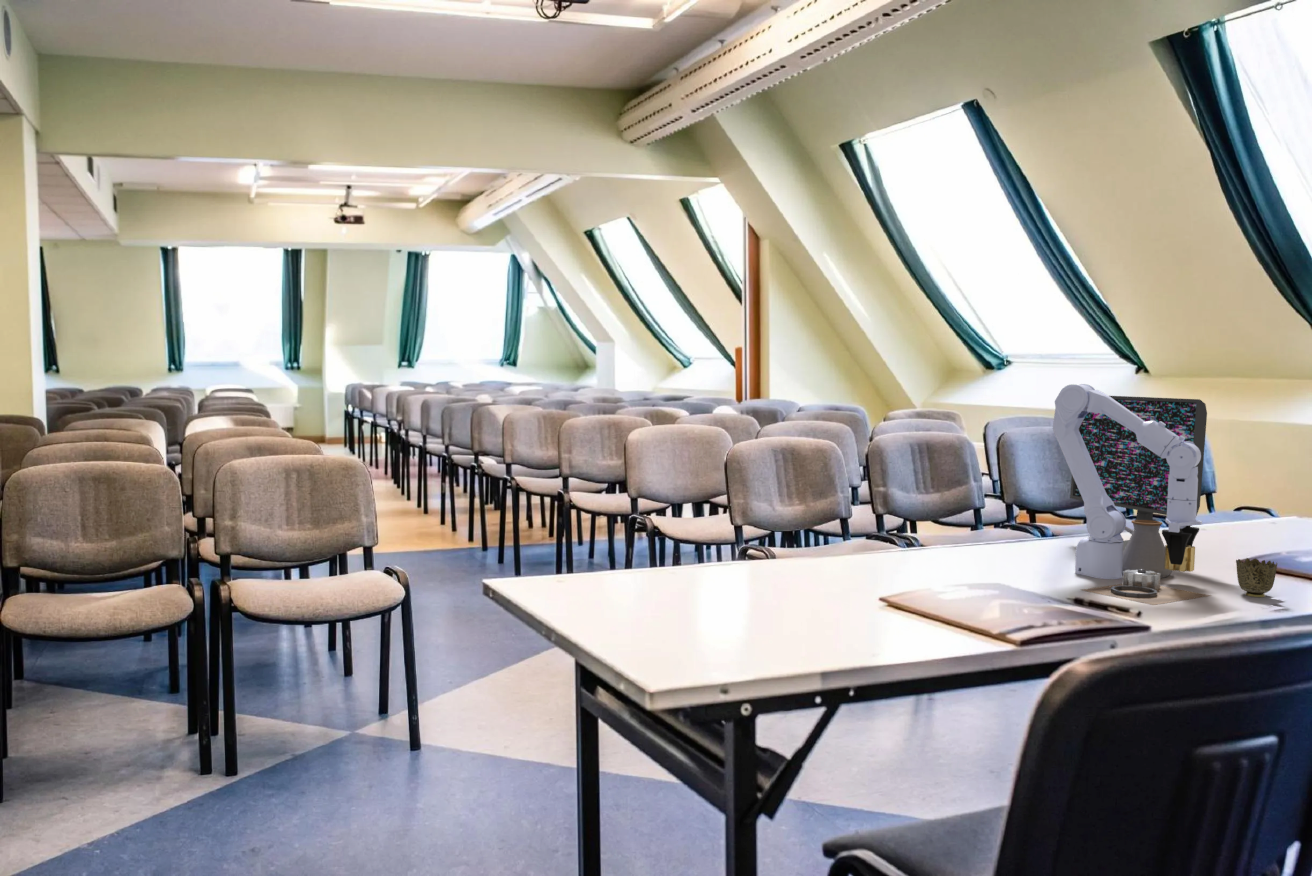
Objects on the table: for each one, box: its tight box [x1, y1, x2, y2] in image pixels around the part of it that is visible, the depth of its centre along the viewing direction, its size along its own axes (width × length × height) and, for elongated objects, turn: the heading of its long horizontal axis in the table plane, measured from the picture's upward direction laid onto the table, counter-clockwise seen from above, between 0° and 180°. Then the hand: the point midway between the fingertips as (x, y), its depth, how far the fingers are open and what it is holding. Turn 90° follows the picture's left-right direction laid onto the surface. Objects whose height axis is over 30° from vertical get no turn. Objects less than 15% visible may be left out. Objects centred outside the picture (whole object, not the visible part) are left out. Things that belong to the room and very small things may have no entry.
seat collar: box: [1111, 586, 1157, 598], centre depth 231 cm, size 9×9×1 cm
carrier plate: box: [1081, 583, 1213, 606], centre depth 233 cm, size 17×19×1 cm
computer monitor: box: [1069, 395, 1208, 551], centre depth 286 cm, size 44×16×40 cm, turn 17°
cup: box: [1235, 557, 1278, 598], centre depth 231 cm, size 8×7×8 cm
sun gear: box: [1122, 569, 1161, 590], centre depth 239 cm, size 7×7×4 cm
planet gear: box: [1164, 544, 1196, 573], centre depth 242 cm, size 6×6×5 cm
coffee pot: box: [1122, 519, 1173, 579], centre depth 258 cm, size 21×12×15 cm, turn 33°
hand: (1179, 562), depth 242 cm, fingers closed on planet gear, 6 cm apart
